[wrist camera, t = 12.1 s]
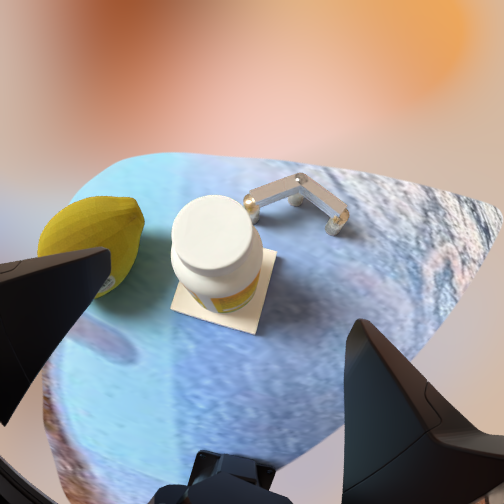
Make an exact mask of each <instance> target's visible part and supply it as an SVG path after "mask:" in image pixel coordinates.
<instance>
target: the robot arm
mask: <svg viewBox="0 0 504 504" xmlns="http://www.w3.org/2000/svg"><path fill="white" fill-rule="evenodd" d="M110 273H111V252H110V250H109V249H107V248H104V247H95V248H88V249H82V250H76V251H70V252H65V253H59V254H53V255H48V256H42V257H37V258H31V259H26V260H22V261H21V260H20V261H15V262H9V263H4V264H0V423H1V424H2V425H3V426H4V427H5V426H6V425H7V423H8V421H9V420H10V418H11V416H12V414H13V413H14V411H15V409H16V408H17V406H18V404H19V403H20V401H21V400H22V398H23V396H24V395H25V393H26V392H27V390H28V388H29V387H30V385H31V383H32V382H33V381H34V379H35V377H36V376H37V375H38V373H39V372H40V370H41V369H42V367H43V366H44V364H45V363H46V361H47V360H48V359H49V357H50V356H51V354H52V353H53V352H54V350H55V349H56V348H57V346H58V345H59V343H60V342H61V341H62V339H63V338H64V337H65V335H66V334H67V333H68V331H69V330H70V329H71V328H72V326H73V325H74V324H75V322H76V321H77V320H78V319H79V317H80V316H81V315H82V314H83V312H84V311H85V310H86V309H87V307H88V306H89V305H90V303H91V302H92V301H93V299H94V298H95V296H96V295H97V293H98V292H99V290H100V289H101V287H102V286H103V284H104V283H105V281H106V280H107V279H108V277H109V276H110ZM344 411H345V446H344V477H343V494H342V503H341V504H504V436H502V435H490V434H486V433H484V432H482V431H480V430H478V429H477V428H476V427H475V426H474V425H473V424H472V423H470V422H469V421H468V420H467V419H466V418H465V417H464V416H463V415H462V414H461V413H460V412H459V411H458V410H457V409H455V408H454V407H453V406H452V405H451V404H450V403H449V402H448V401H447V400H446V399H445V398H444V397H443V396H442V395H441V394H440V393H439V392H438V391H437V390H436V389H435V388H434V387H433V386H432V385H431V384H430V382H427V379H426V378H425V377H424V376H423V375H422V374H421V373H420V372H419V371H418V370H417V369H416V368H415V367H414V366H413V365H412V364H411V363H410V362H409V361H408V360H407V359H406V358H405V356H404V355H403V354H402V353H401V352H400V351H399V350H398V349H397V348H396V347H395V346H394V345H393V344H392V343H391V342H390V341H389V340H388V339H387V338H386V337H385V336H384V335H383V334H382V333H381V332H380V331H379V330H378V329H377V328H376V327H375V326H374V325H373V324H372V323H371V322H370V321H368V320H365V319H360V318H359V319H357V320H356V321H355V323H354V325H353V327H352V329H351V331H350V333H349V335H348V337H347V340H346V352H345V368H344ZM200 454H204V455H205V456H206V457H205V458H203V457H201V456H200ZM267 470H272V472H271V473H267ZM275 473H276V471H275V468H274V467H273V466H269V465H264V464H258V463H255V461H254V460H250V459H246V458H241V457H237V456H233V455H229V454H222V455H219V454H216V453H212V452H209V451H205V450H200V451H198V453H197V455H196V458H195V462H194V465H193V469H192V472H191V475H190V479H189V482H188V485H187V486H185V485H166V486H164V487H161V488H159V489H158V491H157V492H156V493H155V495H154V496H153V497H152V499H151V500H150V501H149V502H148V504H293V503H292V502H291V501H290V500H289V499H288V498H287V497H285V496H282V495H279V494H276V493H273V492H271V491H269V489H270V486H271V484H272V481H273V479H274V476H275ZM0 504H58V503H56V502H55V501H54V500H52V499H51V498H49V497H48V496H47V495H45V494H44V493H43V492H41V491H40V490H39V489H38V488H36V487H35V486H34V485H32V484H31V483H30V482H29V481H28V480H27V479H25V478H24V477H23V476H22V475H21V474H20V473H18V472H17V471H16V470H15V469H14V468H13V467H12V466H11V465H10V464H8V463H7V462H6V461H5V459H3V458H2V457H1V456H0Z"/></svg>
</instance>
